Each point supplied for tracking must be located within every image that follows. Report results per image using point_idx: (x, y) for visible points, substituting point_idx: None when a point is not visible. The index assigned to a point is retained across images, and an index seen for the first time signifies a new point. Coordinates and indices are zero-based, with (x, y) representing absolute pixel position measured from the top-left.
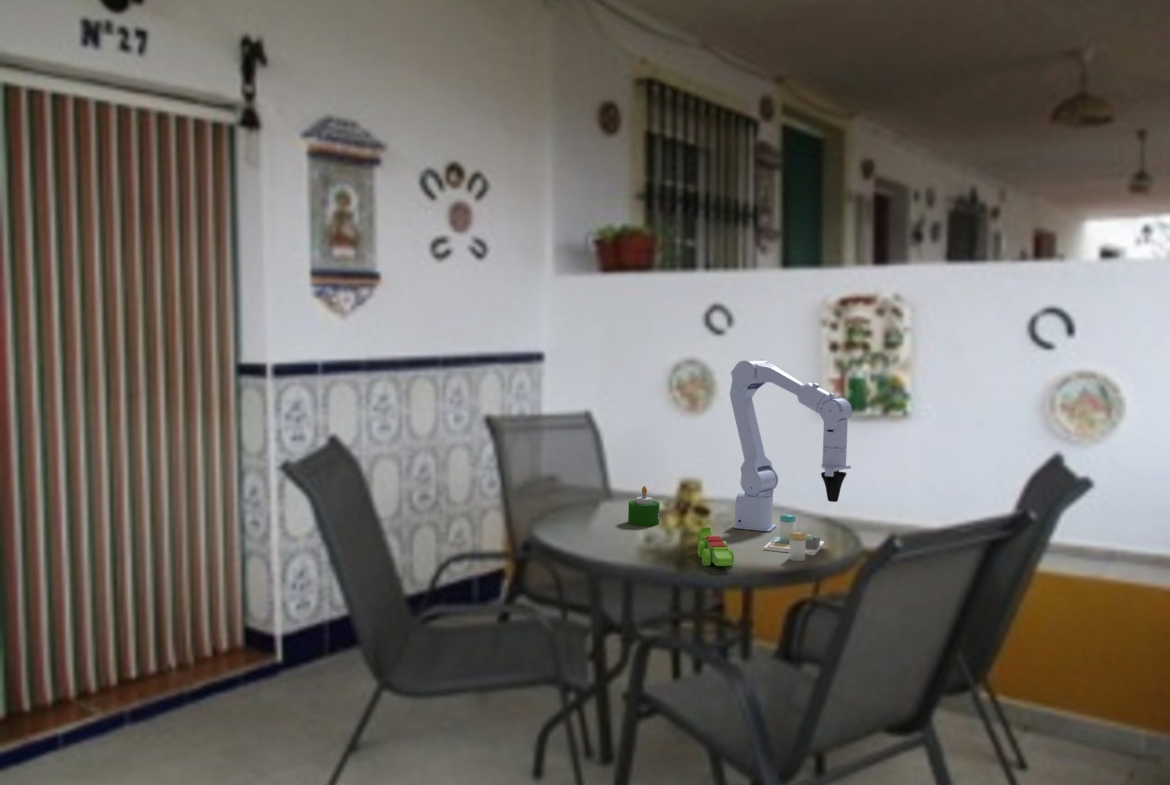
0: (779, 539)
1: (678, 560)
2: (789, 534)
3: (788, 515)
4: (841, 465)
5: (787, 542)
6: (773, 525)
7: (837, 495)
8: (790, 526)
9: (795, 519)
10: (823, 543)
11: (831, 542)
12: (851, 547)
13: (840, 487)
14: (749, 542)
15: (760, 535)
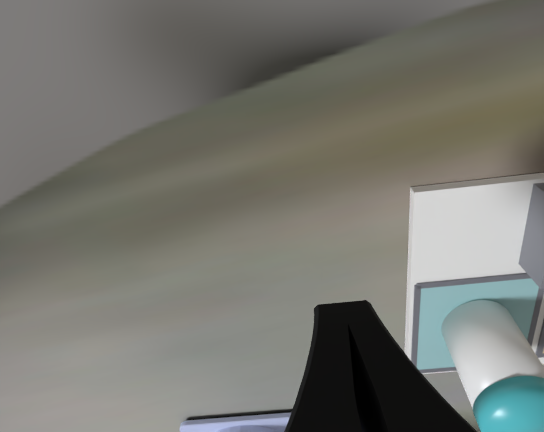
0: None
1: None
2: (524, 336)
3: (519, 429)
4: None
5: (519, 313)
6: (208, 427)
7: (394, 343)
8: (542, 366)
9: (523, 384)
10: (437, 187)
11: (356, 165)
12: (434, 31)
13: (341, 411)
14: None
15: None
